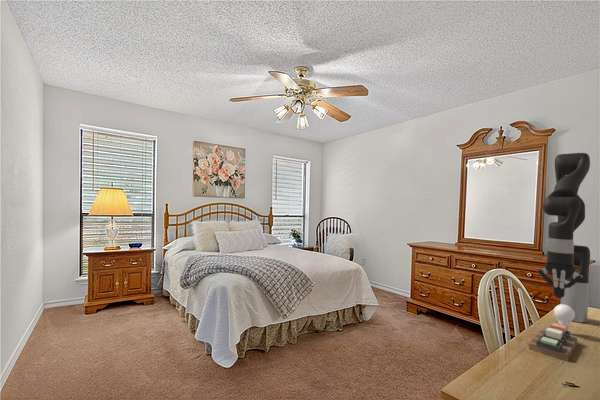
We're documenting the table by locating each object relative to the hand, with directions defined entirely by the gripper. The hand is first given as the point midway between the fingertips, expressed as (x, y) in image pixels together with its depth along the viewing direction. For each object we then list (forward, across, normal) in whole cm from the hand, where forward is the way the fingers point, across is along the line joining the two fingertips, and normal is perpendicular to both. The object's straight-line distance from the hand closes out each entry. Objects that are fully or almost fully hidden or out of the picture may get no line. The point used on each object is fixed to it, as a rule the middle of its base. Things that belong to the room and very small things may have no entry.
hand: (559, 297), depth 112 cm
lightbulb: (+16, 0, -12) cm, 21 cm away
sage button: (+13, 0, +16) cm, 21 cm away
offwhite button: (+12, 0, +8) cm, 14 cm away
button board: (+16, 0, +8) cm, 17 cm away
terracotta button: (+12, 0, 0) cm, 13 cm away
